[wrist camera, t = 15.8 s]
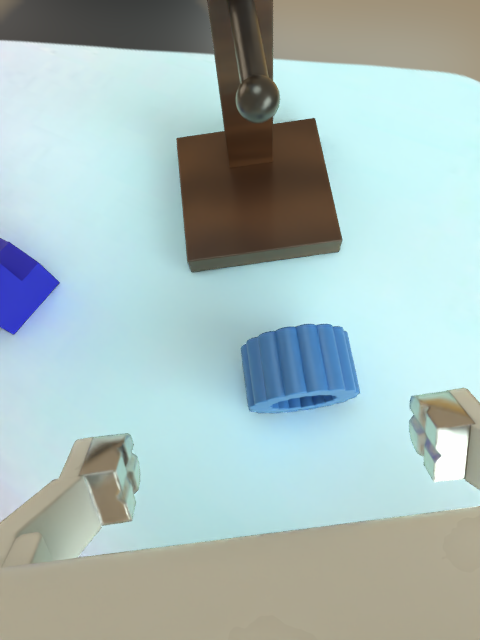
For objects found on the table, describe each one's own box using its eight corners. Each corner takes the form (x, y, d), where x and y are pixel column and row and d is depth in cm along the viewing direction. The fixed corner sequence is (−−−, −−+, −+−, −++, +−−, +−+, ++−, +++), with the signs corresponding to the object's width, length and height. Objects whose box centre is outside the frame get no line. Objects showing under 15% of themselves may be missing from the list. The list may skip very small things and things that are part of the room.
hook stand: (339, 253, 31) (410, 8, 15) (191, 273, 31) (107, 53, 15) (313, 133, 34) (348, -169, 18) (180, 152, 34) (102, -130, 19)
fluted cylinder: (338, 407, 28) (378, 384, 22) (241, 417, 27) (257, 396, 21) (327, 353, 29) (363, 319, 23) (234, 361, 28) (248, 327, 22)
